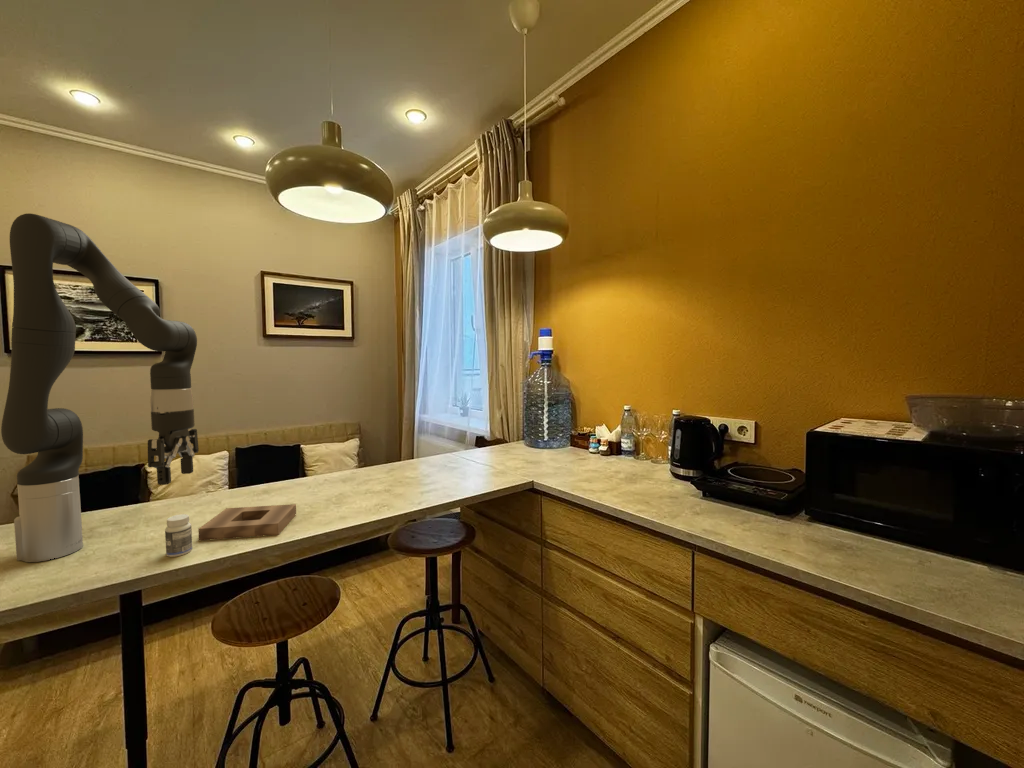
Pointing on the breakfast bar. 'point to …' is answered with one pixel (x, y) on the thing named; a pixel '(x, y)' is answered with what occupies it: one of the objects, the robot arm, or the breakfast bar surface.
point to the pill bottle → (178, 535)
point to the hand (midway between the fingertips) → (176, 478)
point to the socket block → (248, 522)
